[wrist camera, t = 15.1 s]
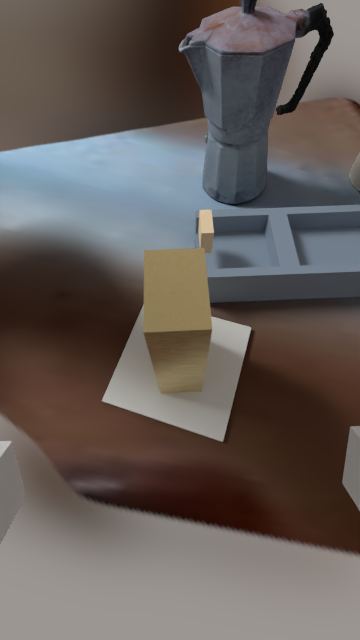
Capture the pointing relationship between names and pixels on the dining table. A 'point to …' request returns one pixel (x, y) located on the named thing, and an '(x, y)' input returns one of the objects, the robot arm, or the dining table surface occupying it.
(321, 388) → the dining table surface
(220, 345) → the white square mat
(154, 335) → the tan cardboard box
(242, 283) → the grey divided tray
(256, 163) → the moka pot
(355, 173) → the thermos bottle
